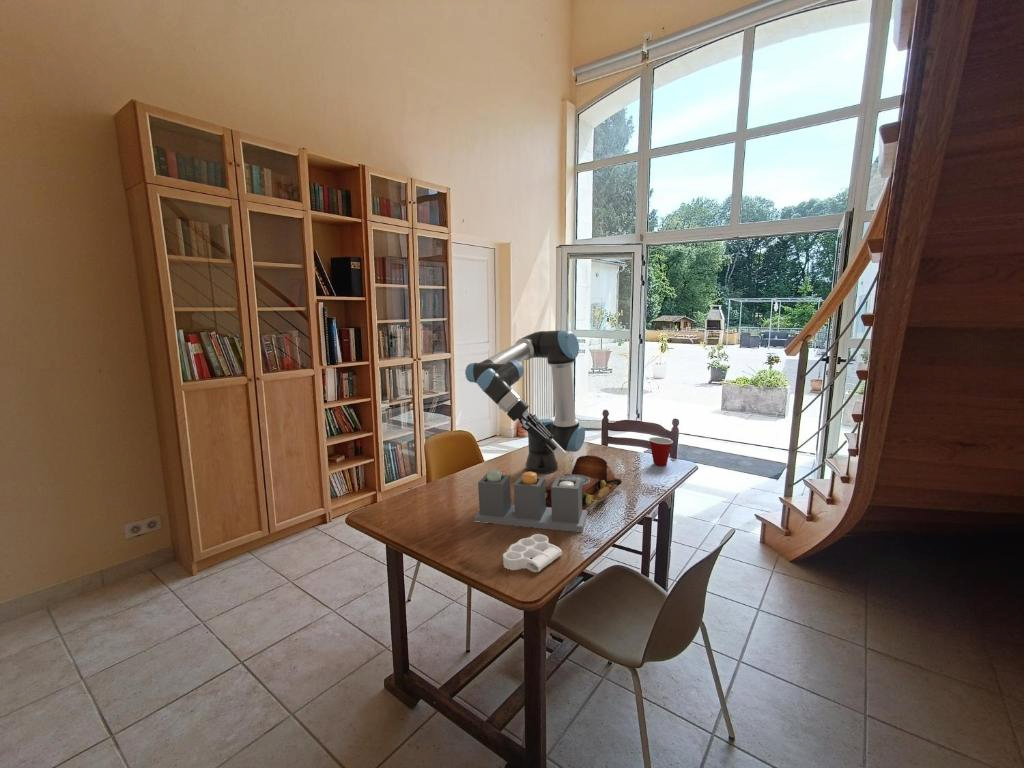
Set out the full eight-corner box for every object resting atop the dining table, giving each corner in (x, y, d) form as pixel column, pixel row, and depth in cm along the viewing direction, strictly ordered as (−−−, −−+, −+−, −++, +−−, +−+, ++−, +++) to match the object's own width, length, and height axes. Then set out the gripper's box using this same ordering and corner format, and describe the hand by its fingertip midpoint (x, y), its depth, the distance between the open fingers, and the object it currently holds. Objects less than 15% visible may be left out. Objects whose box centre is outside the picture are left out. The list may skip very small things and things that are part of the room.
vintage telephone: (629, 455, 192) (591, 486, 159) (629, 483, 194) (591, 519, 161) (576, 448, 205) (530, 475, 172) (577, 474, 207) (532, 506, 174)
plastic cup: (676, 467, 210) (676, 442, 208) (652, 468, 210) (652, 442, 208) (668, 460, 220) (668, 436, 219) (645, 461, 221) (646, 436, 219)
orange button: (521, 487, 159) (520, 476, 158) (524, 482, 163) (524, 471, 163) (535, 488, 157) (534, 476, 157) (538, 483, 162) (537, 472, 161)
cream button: (558, 497, 155) (558, 485, 155) (560, 491, 160) (560, 480, 159) (573, 498, 154) (572, 486, 153) (575, 492, 159) (575, 481, 158)
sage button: (485, 484, 162) (485, 474, 162) (490, 480, 167) (489, 469, 166) (499, 485, 161) (498, 474, 160) (503, 480, 165) (502, 470, 165)
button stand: (474, 522, 161) (472, 484, 159) (486, 507, 173) (484, 471, 171) (582, 532, 150) (581, 491, 149) (587, 515, 163) (586, 477, 161)
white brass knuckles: (531, 580, 125) (492, 563, 134) (568, 553, 138) (530, 539, 148) (531, 569, 124) (491, 552, 134) (568, 542, 138) (529, 529, 147)
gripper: (511, 409, 165) (558, 456, 162) (501, 417, 152) (551, 468, 150) (525, 395, 162) (573, 442, 160) (515, 401, 150) (567, 453, 148)
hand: (562, 455), depth 155 cm, fingers closed
